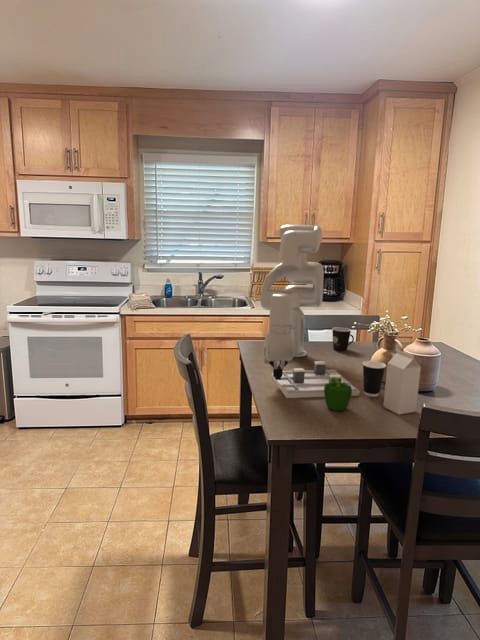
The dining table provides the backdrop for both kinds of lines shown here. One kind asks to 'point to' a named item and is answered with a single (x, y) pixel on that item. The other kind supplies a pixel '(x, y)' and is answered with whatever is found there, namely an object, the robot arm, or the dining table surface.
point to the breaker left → (319, 367)
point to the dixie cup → (372, 377)
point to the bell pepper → (337, 395)
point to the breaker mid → (298, 375)
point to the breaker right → (336, 377)
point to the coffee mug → (341, 338)
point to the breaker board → (308, 384)
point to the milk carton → (402, 383)
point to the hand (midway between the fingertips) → (277, 378)
